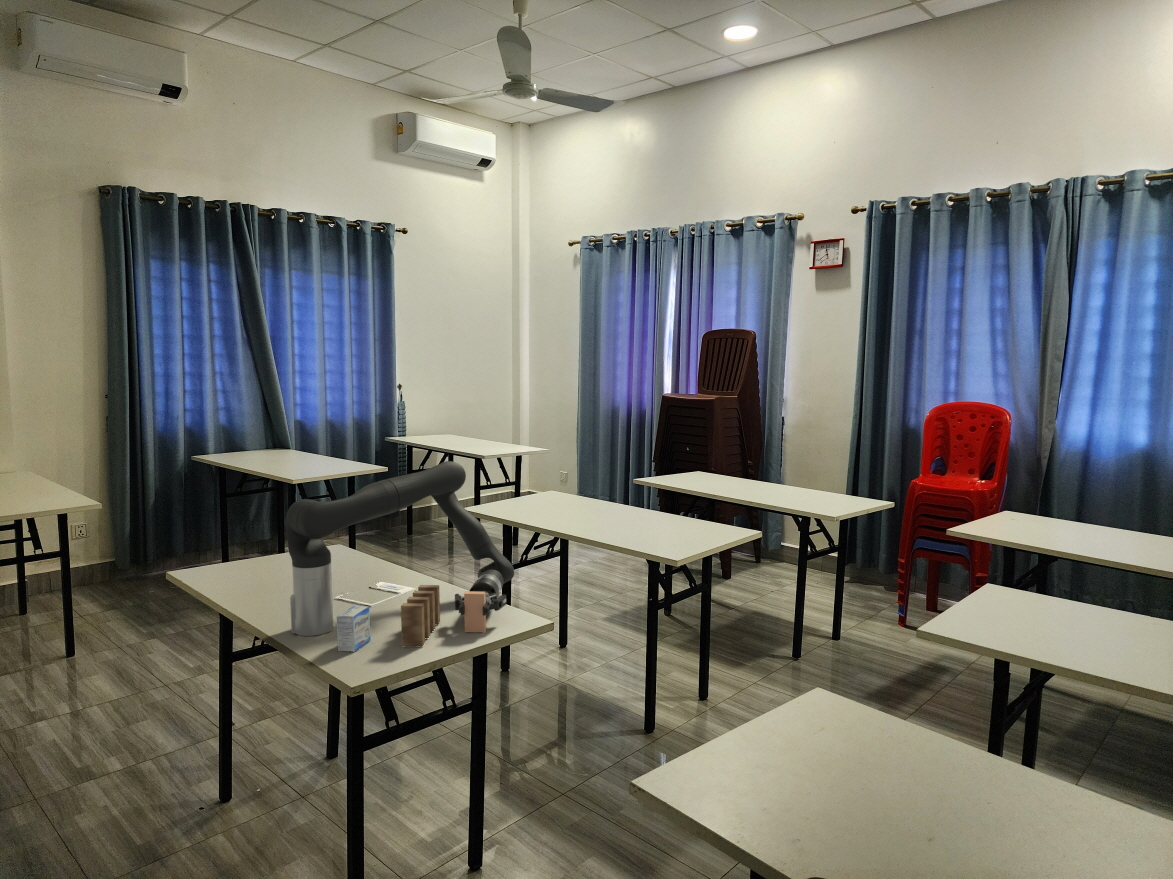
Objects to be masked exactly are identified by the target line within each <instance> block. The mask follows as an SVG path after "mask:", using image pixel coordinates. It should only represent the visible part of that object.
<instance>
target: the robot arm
mask: <svg viewBox="0 0 1173 879" xmlns="http://www.w3.org/2000/svg"><path fill="white" fill-rule="evenodd" d="M466 477H467V474H466V471H465V468H464V467H463V465H461V464H459V462H455V461H451V460H449V461H448V460H447V461H443V462H441V463H439V464H437V465H434V466H431V467H430V468H426V469H424V470H421V471H417V472H413V473H408V474H403V475H398V476H394V477H390V478H386V479H382V480H379V481H376V482H372V483H370V484H367V485H365V486H363V487H362V488H360V489H359V490H357V491H356V492H355V493H353V494H351V495H350V496H346V497H344V498H340V499H339V498H338V499H334V500H329V501H317V500H313V499H308V498H304V499H302V498H301V499H299V500H296V501H295V502H293V503H292V504H291V506H289V508H288V511H287V513H286V519H285V520H286V522H285V525H286V526H285V527H286V538H287V540H286V541H287V549H288V553H289V556H290V558H291V568H292V587H293V588H292V589H293V590H292V591H293V594H291V596H290V598H289V602H290V621H291V622H290V623H291V624H290V626H291V629H290V630H291V634H296V635H299V636H303V637H304V636H305V637H311V636H312V637H313V636H318V635H319V636H320V635H323V634H327V633H329V632H330V631H332V630H333V629H334V605H333V604H334V603H333V577H332V576H333V575H332V574H333V573H332V553H331V551H330V549H329V548H328V547H327V546H326V544H325V541H324V538H325V537H327V536H330V535H333V534H335V533H336V532H338V531H341V530H343V529H345V528H348V527H349V526H352V525H355V524H359V523H362V522H366V521H370V520H372V519H373V520H374V519H376V518H380V517H382V516H383V517H384V516H386V515H390V514H393V513H396V512H398V511H401V510H404V509H405V508H406V509H407V507H410V506H412V505H414V504H416V503H417V502H418V503H419V502H420V501H422V500H423V499H426V498H427V497H432V499H433V500H434V501H435V503H437V505H438V506H439V508H440V509H441V510H442V512H443V514H444V515H446V517H447V518H448V520H449V521H450V522H451V524H452V525H453V526H454V528H455V530H457V532H458V534H459V536H460V537H461V539H462V540H463V542H464V544H465V546H466V548H467V550H468V551H469V554H470V555H471V556H472V558H473V560H475V561H480V560H483V559H490V560H492V562H490V563H489V564H487V565H485V566H483V567H481V568H480V569H479V570H478V571H477V579H476V580H475V581H474V582H473V584H472V586H471V587H470V589H469V591H474V592H485V595H486V603H485V605H484V606H483V616H486V617H487V615H488V614H490V612H492V610H494V611H495V612H498V611H500V610H501V609H503V608H504V607H505V606H506V605H507V594H501V590H502V589H503V587H504V584H505V583H508V582H509V581H511V580H513V578H514V577H515V569H514V566H513V565H512V564H513V563H511V562H510V560H508V558H507V557H506V556H504V555H503V554H502V552H500V550H499V549H498V548H497V547H496V546H495V544H494V543H493V541H492V539H491V537H490V535H489V533H488V532H487V530H486V529H485V527H484V525H483V524H482V523H481V522H480V521H479V520H478V519H477V518H476V517H475V516H474V515H473V514H472V513H470V512H469V511H468V510H467V509H466V508H465V507H464V506H463V505H462V504H461V502H460V501H459V499H458V497H457V494H456V493H455V492H457V491H459V490H460V489H461V488H462V487H463V485H464V484H465V482H466V479H467V478H466ZM454 609H455V611H458V614H460V616H465V615H464V614H465V605H464V596H462V595H461V594H459V593H455V594H454Z"/></svg>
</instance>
